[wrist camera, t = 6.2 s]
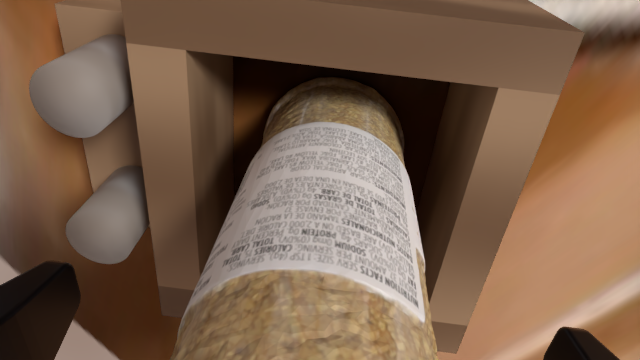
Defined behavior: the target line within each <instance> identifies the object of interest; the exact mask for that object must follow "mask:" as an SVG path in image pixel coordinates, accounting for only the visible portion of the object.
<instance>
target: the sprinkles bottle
mask: <svg viewBox="0 0 640 360" xmlns="http://www.w3.org/2000/svg"><path fill="white" fill-rule="evenodd" d="M403 153H404V134H403V131H402V127H401V123H400V121H399V119H398V117H397V115H396V113H395V111H394V110H393V108H392V107H391V106H390V104H389V103H388V102H387V101H386V100H385V99H384V98H383V97H382V96H381V95H380V94H379V93H378V92H377V91H376V90H375V89H373V88H371V87H369V86H366V85H363V84H361V83H359V82H357V81H354V80H349V79H345V78H340V77H328V78H316V79H314V80H310V81H307V82H304V83H302V84H300V85H298V86H296V87H295V88H293V89H291V90H290V91H288V92H287V93H286V94H285V95H284V96H283V97H282V98H281V99H279V101H278V102H277V103H276V104H275V106H274V107H273V108H272V110H271V112H270V115H269V118H268V119H267V121H266V125H265V130H264V133H263V142H262V145H261V148H260V149H259V151H258V152H257V153H256V155H255V156H254V158H253V159H252V161H251V163H250V165H249V167H248V169H247V171H246V173H245V176H244V178H243V180H242V183H241V185H240V187H239V190H238V192H237V194H236V197H235V199H234V201H233V203H232V206H231V208H230V210H229V212H228V215H227V217H226V219H225V222H224V224H223V226H222V228H221V231H220V233H219V235H218V238H217V240H216V242H215V244H214V247H213V249H212V251H211V254H210V256H209V258H208V261H207V263H206V265H205V268H204V270H203V272H202V274H201V277H200V279H199V281H198V283H197V285H196V288H195V290H194V292H193V294H192V297H191V299H190V301H189V303H188V305H187V308H186V310H185V313H184V315H183V318H182V321H181V324H180V327H179V330H178V335H177V342H176V344H175V347H174V351H173V354H172V356H171V358H170V360H438V357H437V355H436V353H437V346H436V341H435V336H434V332H433V328H432V324H431V313H430V307H429V301H428V295H427V288H426V278H425V259H424V254H423V249H422V244H421V238H420V232H419V227H418V221H417V216H416V210H415V205H414V199H413V193H412V187H411V183H410V179H409V176H408V174H407V171H406V169H405V163H404V157H403Z"/></svg>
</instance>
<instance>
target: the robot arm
mask: <svg viewBox="0 0 640 360" xmlns="http://www.w3.org/2000/svg"><path fill="white" fill-rule="evenodd" d="M79 303H80V290H79V287H78V283H77V279H76V275H75V271H74V268H73V266H72V265H71V264H70V263H66V262H58V261H46V262H43V263H41V264H39V265H38V266H36V267H34V268H32V269H30V270H28V271H26V272H24V273H23V274H21V275H19V276H17V277H15V278H13V279H11V280H9V281H8V282H6V283H4V284H2V285H0V360H54V359H55V356H56V354H57V352H58V350H59V348H60V346H61V344H62V341H63V339H64V337H65V335H66V333H67V330H68V328H69V326H70V324H71V322H72V320H73V318H74V316H75V313H76V311H77V309H78V307H79ZM543 360H620V359H619V358H617V357H616V356H615V355H614V354H613V353H612V352H611V351H610V350H609V349H607V348H606V347H605V346H604V345H603V344H602V343H601V342H600V341H598V340H597V339H596V338H595V337H594V336H593V335H592V334H591V333H589V332H588V331H586V330H584V329H579V328H571V327H562V328H560V329H559V330H558V331H557V333H556V335H555V336H554V338H553V340H552V342H551V344H550V345H549V347H548V349H547V351H546V353H545V355H544V359H543Z"/></svg>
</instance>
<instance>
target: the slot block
mask: <svg viewBox="0 0 640 360" xmlns="http://www.w3.org/2000/svg"><path fill="white" fill-rule="evenodd" d="M55 8H56V13H57V18H58V23H59V28H60V33H61V38H62V42H63V47H64V52H65V55H63V56H61V57H59V58H57V59H55V60H53V61H51V62H49V63H47V64H45V65H43V66H41V67H40V68H38V69H37V70H36V71H35V72H34V74H33V75H32V77H31V80H30V86H29V91H30V97H31V100H32V103H33V105H34V107H35V109H36V111H37V112H38V114H39V115H40V116H41V117H42V118H43V120H44V121H45V122H46V123H48V124H49V125H50V126H51V127H53V128H54V129H56V130H57V131H59V132H61V133H63V134H65V135H68V136H72V137H77V138H82V140H83V145H84V150H85V155H86V159H87V164H88V169H89V174H90V179H91V184H92V189H93V195H92V196H91V197H90V198H89V199H88V200H87V201H86V202H85V203H84V204H83V205H82V206H81V207H80V209H79V210H78V211H77V212H76V213H75V214H74V215H73V216H72V217H71V218H70V219H69V221H68V222H67V224H66V236H67V239H68V241H69V242H70V244H71V245H72V247H73V248H74V249H75V250H76V251H77V252H78V253H80V254H81V255H82V256H84V257H86V258H87V259H90V260H92V261H95V262H98V263H102V264H115V263H119V262H121V261H123V260H125V259H126V258H127V257H128V256H129V254H130V253H131V251H132V250H133V248H134V247H135V245H136V244H137V242H138V241H139V239H140V238H141V236H142V235H143V233H144V232H145V230H146V229H147V227H149V228H150V229H151V236H152V244H153V252H154V259H155V267H156V274H157V282H158V290H159V297H160V305H161V313H162V315H164V316H171V317H179V318H183V315H184V313H185V310H186V308H187V305H188V303H189V301H190V299H191V297H192V294H193V292H194V290H195V288H196V285H197V283H198V281H199V279H200V277H201V274H202V272H203V270H204V268H205V265H206V263H207V261H208V258H209V256H210V254H211V251H212V249H213V247H214V244H215V242H216V240H217V238H218V235H219V233H220V231H221V228H222V226H223V224H224V222H225V219H226V217H227V215H228V212H229V210H230V208H231V206H232V203H233V201H234V126H233V56H238V57H247V58H255V59H263V60H272V61H280V62H288V63H297V64H305V65H313V66H322V67H330V68H338V69H347V70H355V71H363V72H372V73H380V74H388V75H397V76H405V77H413V78H422V79H430V80H438V81H447V82H450V86H449V90H448V93H447V97H446V101H445V105H444V109H443V113H442V116H441V120H440V124H439V128H438V132H437V136H436V140H435V143H434V147H433V151H432V155H431V159H430V163H429V167H428V170H427V174H426V178H425V182H424V186H423V190H422V194H421V197H420V201H419V205H418V209H417V213H416V216H417V221H418V227H419V232H420V238H421V244H422V249H423V254H424V259H425V278H426V288H427V295H428V301H429V307H430V313H431V324H432V328H433V332H434V336H435V341H436V346H437V351H440V352H447V353H455V354H456V353H457V351H458V348H459V346H460V343H461V341H462V338H463V336H464V333H465V331H466V328H467V326H468V323H469V321H470V318H471V316H472V313H473V311H474V308H475V306H476V303H477V301H478V298H479V296H480V293H481V291H482V288H483V286H484V283H485V281H486V278H487V276H488V273H489V271H490V268H491V266H492V263H493V261H494V258H495V256H496V253H497V251H498V248H499V246H500V243H501V241H502V238H503V236H504V233H505V231H506V228H507V226H508V223H509V221H510V218H511V216H512V213H513V211H514V208H515V206H516V203H517V201H518V198H519V196H520V193H521V191H522V188H523V186H524V183H525V181H526V178H527V176H528V173H529V171H530V168H531V166H532V163H533V161H534V158H535V156H536V153H537V151H538V148H539V146H540V143H541V141H542V138H543V136H544V133H545V131H546V128H547V126H548V123H549V121H550V118H551V116H552V113H553V111H554V108H555V106H556V103H557V101H558V98H559V96H560V93H561V91H562V88H563V86H564V83H565V81H566V78H567V76H568V73H569V71H570V68H571V66H572V63H573V61H574V58H575V56H576V53H577V51H578V48H579V46H580V43H581V41H582V38H583V36H584V32H582V31H581V30H579V29H577V28H575V27H574V26H572V25H570V24H568V23H567V22H565V21H563V20H561V19H560V18H558V17H556V16H554V15H553V14H551V13H549V12H547V11H546V10H544V9H542V8H540V7H539V6H537V5H535V4H533V3H532V2H530V1H528V0H65V1H62V2H58V3H55Z"/></svg>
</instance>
